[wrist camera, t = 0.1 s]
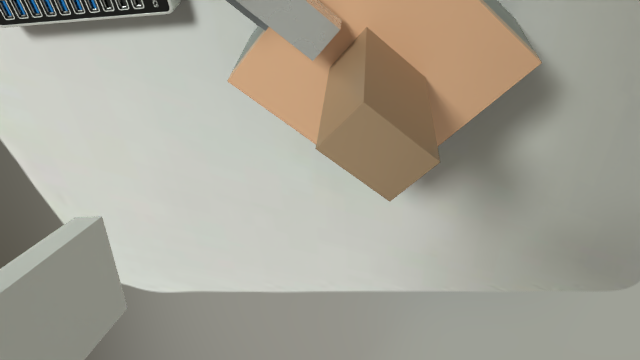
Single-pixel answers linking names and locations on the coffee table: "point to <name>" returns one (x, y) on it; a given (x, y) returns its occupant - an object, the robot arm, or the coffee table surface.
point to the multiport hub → (77, 10)
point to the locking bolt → (298, 22)
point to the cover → (388, 82)
